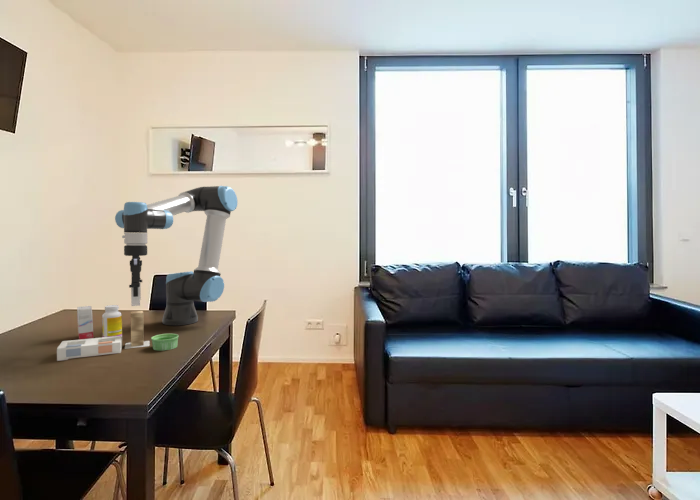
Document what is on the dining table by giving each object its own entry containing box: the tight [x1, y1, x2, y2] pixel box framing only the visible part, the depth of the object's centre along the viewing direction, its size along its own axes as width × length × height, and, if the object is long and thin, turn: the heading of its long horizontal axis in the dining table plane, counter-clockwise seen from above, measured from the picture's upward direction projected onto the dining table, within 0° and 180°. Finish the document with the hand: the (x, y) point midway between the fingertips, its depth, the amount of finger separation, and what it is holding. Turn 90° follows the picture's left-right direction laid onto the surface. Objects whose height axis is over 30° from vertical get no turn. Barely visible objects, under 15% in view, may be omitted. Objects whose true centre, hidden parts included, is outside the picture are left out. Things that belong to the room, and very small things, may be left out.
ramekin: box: [150, 333, 179, 352], centre depth 148 cm, size 9×9×4 cm
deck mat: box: [124, 340, 151, 350], centre depth 152 cm, size 8×8×1 cm
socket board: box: [56, 335, 123, 362], centre depth 142 cm, size 18×10×4 cm, turn 116°
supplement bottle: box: [101, 304, 123, 337], centre depth 161 cm, size 7×7×13 cm
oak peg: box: [130, 310, 145, 346], centre depth 151 cm, size 4×4×12 cm
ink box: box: [76, 305, 94, 340], centre depth 162 cm, size 9×5×12 cm, turn 34°
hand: (136, 302), depth 151 cm, fingers open, 13 cm apart
